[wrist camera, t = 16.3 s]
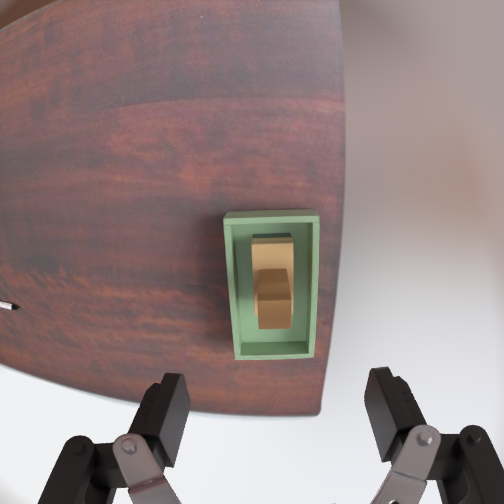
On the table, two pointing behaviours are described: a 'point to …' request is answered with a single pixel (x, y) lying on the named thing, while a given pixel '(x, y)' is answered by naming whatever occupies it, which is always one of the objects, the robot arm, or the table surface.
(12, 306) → the pen
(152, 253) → the table surface
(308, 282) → the tray
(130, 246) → the table surface
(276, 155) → the table surface
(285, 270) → the scrub brush
